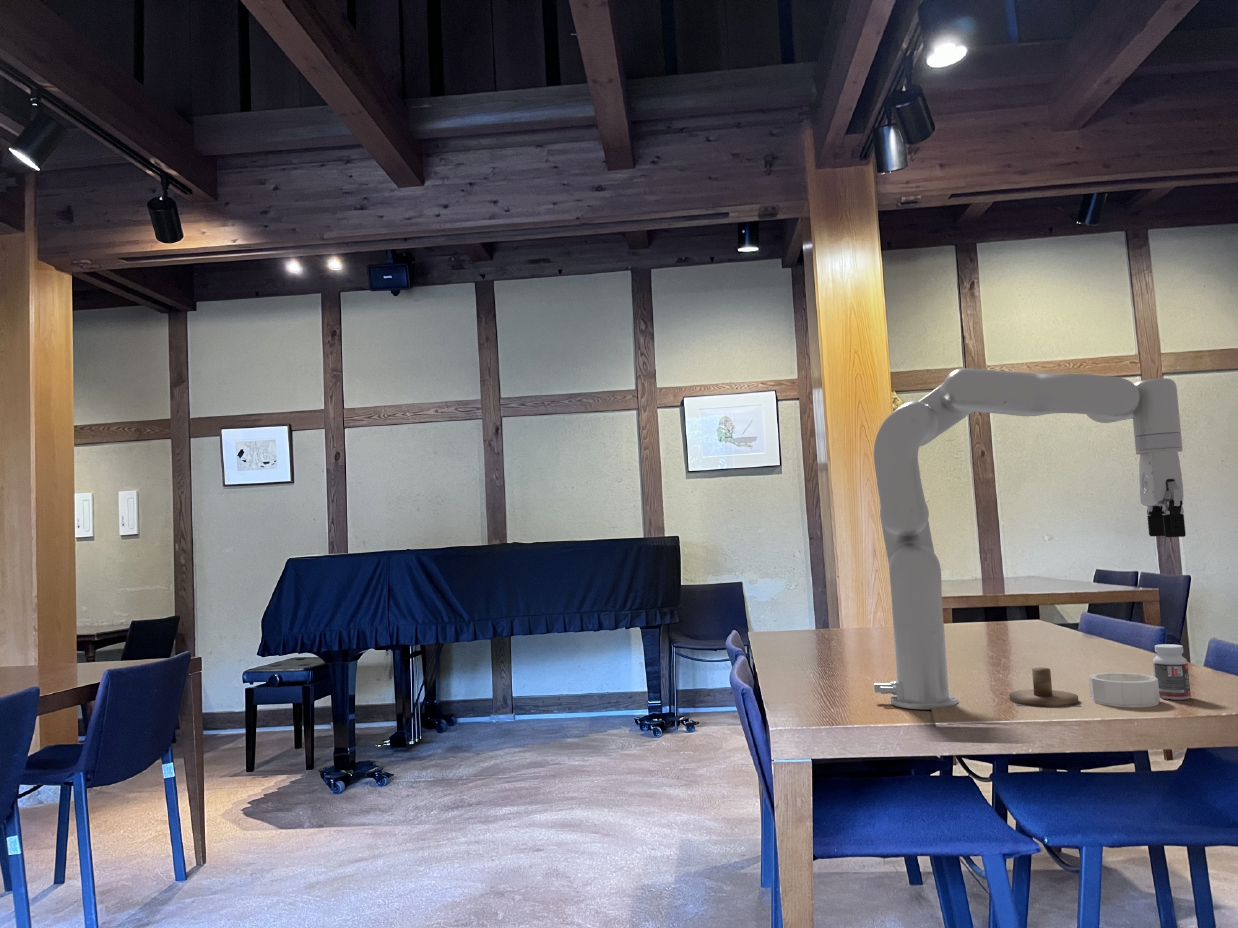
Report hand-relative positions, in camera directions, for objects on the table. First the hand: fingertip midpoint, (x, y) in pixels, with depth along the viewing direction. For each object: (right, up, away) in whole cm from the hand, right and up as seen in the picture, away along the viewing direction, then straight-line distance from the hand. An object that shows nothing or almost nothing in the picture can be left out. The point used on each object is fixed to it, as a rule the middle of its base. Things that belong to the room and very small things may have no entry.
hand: (1166, 536), depth 164 cm
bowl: (-7, -32, +2) cm, 33 cm away
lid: (-20, -32, +6) cm, 38 cm away
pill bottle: (+5, -32, +6) cm, 33 cm away
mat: (-20, -33, +6) cm, 39 cm away
